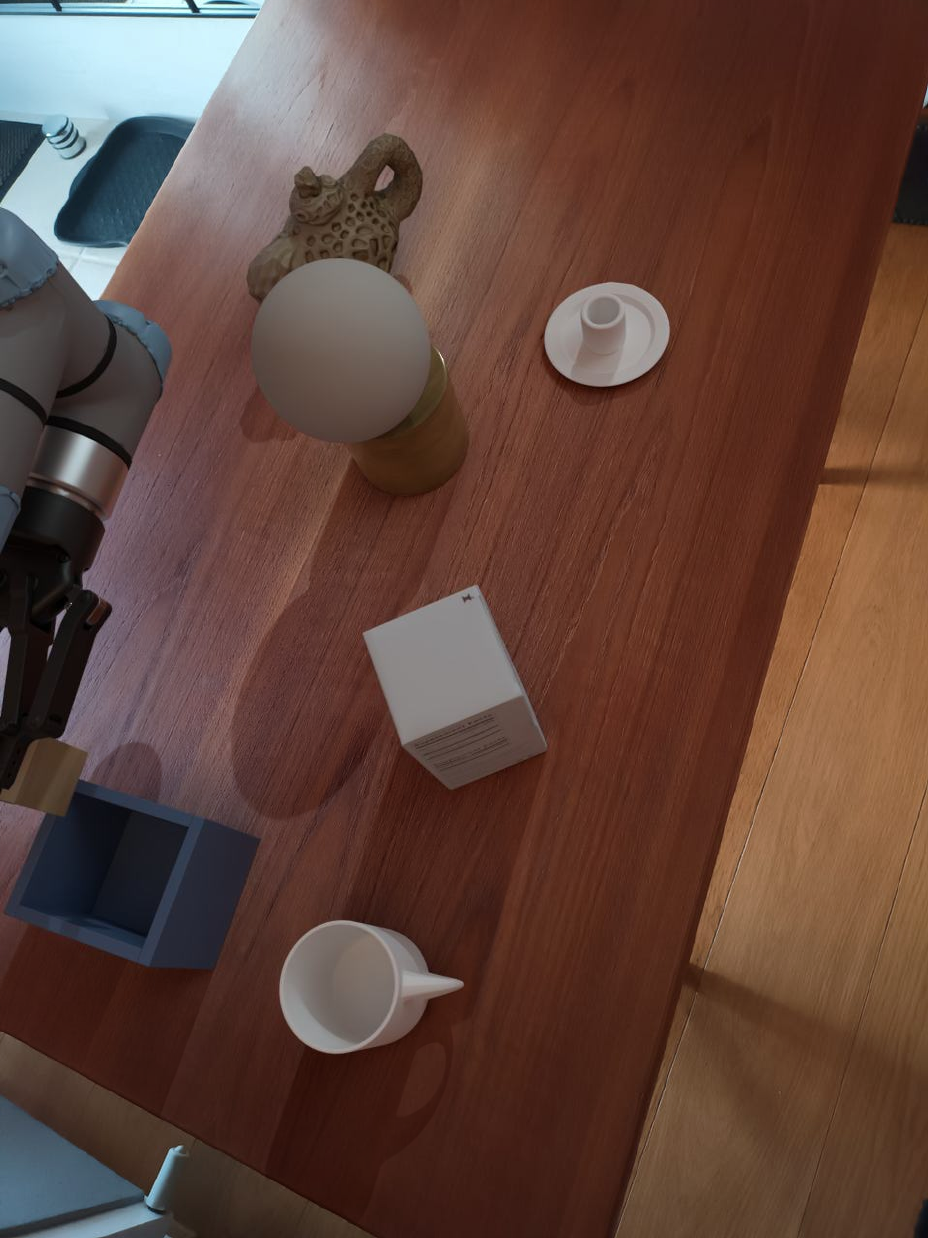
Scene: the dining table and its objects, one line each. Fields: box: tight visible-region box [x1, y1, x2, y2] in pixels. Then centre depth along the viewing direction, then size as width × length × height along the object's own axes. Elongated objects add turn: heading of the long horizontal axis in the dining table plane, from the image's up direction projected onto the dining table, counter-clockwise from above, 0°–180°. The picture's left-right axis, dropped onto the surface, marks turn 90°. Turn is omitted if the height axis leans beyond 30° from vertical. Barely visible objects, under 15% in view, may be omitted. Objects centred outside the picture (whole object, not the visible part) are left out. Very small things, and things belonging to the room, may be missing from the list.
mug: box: [278, 919, 465, 1055], centre depth 70 cm, size 9×12×11 cm
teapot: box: [246, 132, 424, 307], centre depth 95 cm, size 21×12×15 cm, turn 129°
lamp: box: [250, 258, 470, 497], centre depth 81 cm, size 15×14×25 cm
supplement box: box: [361, 584, 548, 791], centre depth 74 cm, size 10×9×17 cm
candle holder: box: [543, 281, 671, 388], centre depth 91 cm, size 12×12×4 cm
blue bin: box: [3, 778, 261, 970], centre depth 77 cm, size 13×11×11 cm
